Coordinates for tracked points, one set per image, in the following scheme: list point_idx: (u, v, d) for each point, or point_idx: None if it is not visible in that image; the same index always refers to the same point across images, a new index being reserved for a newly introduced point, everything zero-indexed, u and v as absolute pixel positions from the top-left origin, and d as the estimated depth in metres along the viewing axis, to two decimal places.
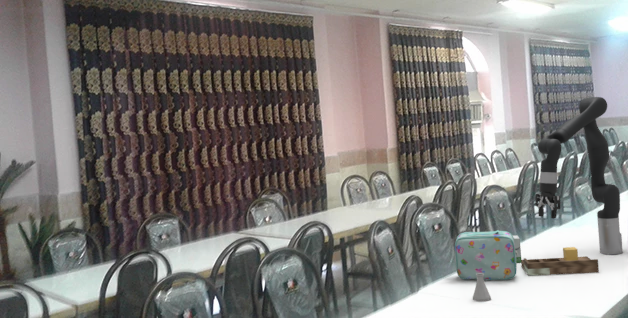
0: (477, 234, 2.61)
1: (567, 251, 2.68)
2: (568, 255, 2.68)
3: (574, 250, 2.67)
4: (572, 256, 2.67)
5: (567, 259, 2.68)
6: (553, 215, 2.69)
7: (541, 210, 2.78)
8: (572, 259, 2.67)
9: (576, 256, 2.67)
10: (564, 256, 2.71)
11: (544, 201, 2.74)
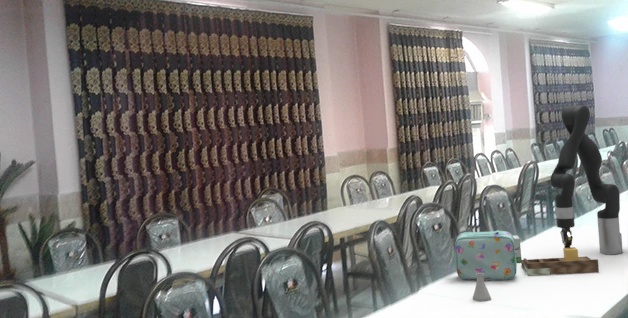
0: (477, 234, 2.61)
1: (567, 251, 2.67)
2: (568, 255, 2.67)
3: (574, 250, 2.67)
4: (572, 256, 2.67)
5: (567, 259, 2.67)
6: None
7: (567, 247, 2.74)
8: (572, 259, 2.67)
9: (576, 256, 2.67)
10: (564, 256, 2.71)
11: None
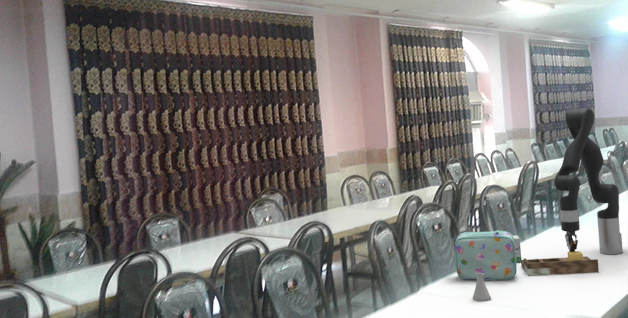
0: (477, 234, 2.61)
1: (572, 255, 2.59)
2: (573, 260, 2.59)
3: (579, 254, 2.59)
4: None
5: None
6: None
7: (571, 251, 2.66)
8: None
9: None
10: None
11: None
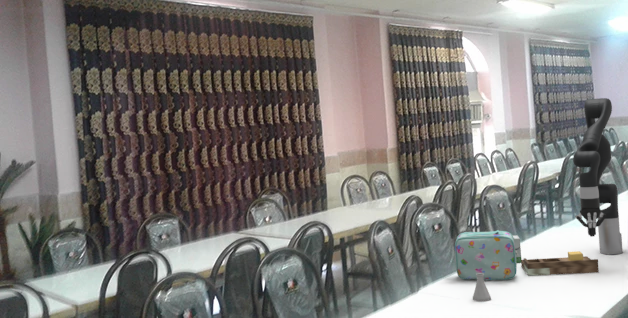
0: (477, 234, 2.61)
1: (572, 255, 2.59)
2: (573, 260, 2.59)
3: (579, 254, 2.58)
4: None
5: None
6: None
7: None
8: None
9: None
10: None
11: None
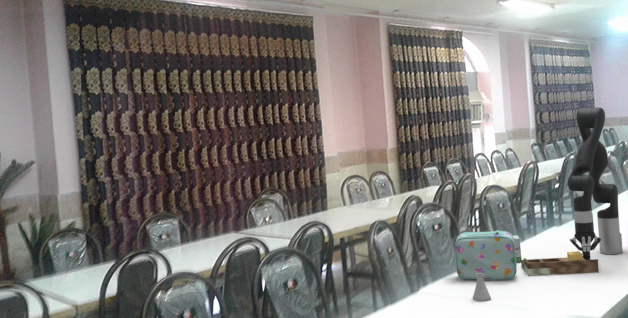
0: (477, 234, 2.61)
1: (572, 256, 2.59)
2: (573, 260, 2.59)
3: (579, 254, 2.59)
4: None
5: None
6: None
7: None
8: None
9: None
10: None
11: None
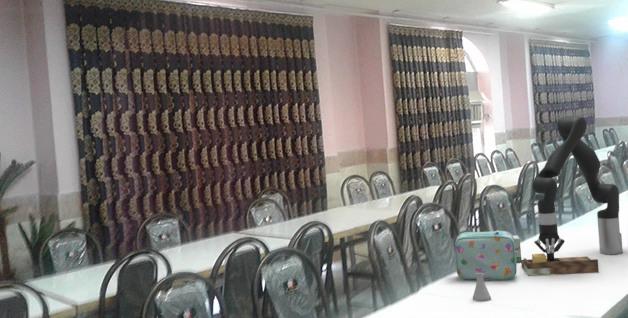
0: (477, 234, 2.61)
1: (536, 258, 2.61)
2: None
3: (543, 257, 2.61)
4: None
5: None
6: None
7: None
8: None
9: None
10: None
11: None
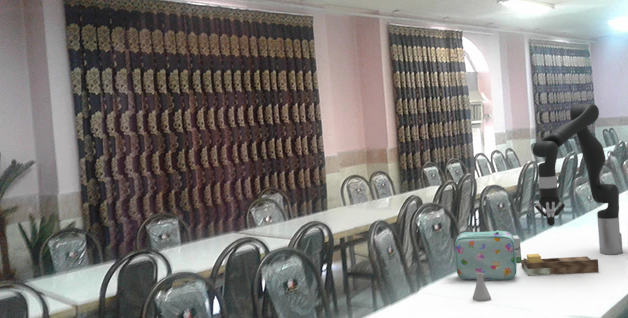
0: (477, 234, 2.61)
1: (530, 258, 2.62)
2: (531, 262, 2.62)
3: (537, 257, 2.61)
4: None
5: None
6: None
7: None
8: None
9: None
10: None
11: None
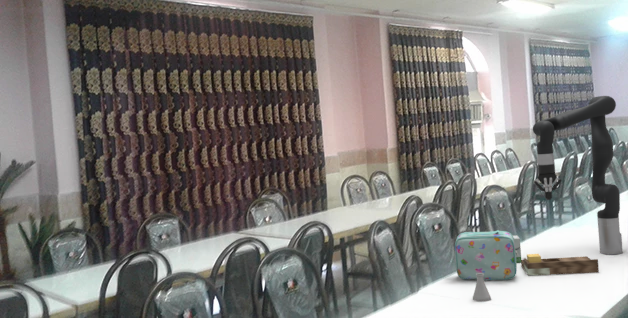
0: (477, 234, 2.61)
1: (530, 258, 2.62)
2: (531, 262, 2.62)
3: (537, 257, 2.61)
4: None
5: None
6: None
7: None
8: None
9: None
10: None
11: None
